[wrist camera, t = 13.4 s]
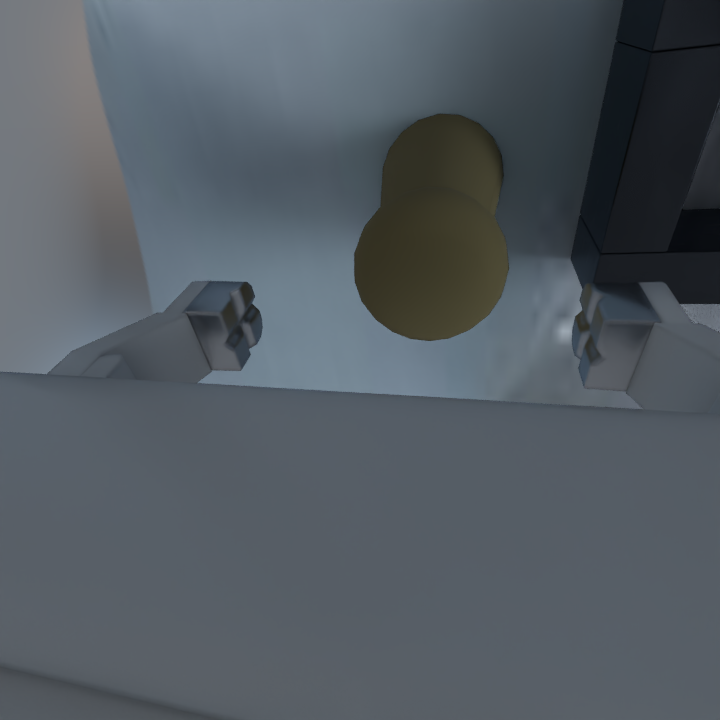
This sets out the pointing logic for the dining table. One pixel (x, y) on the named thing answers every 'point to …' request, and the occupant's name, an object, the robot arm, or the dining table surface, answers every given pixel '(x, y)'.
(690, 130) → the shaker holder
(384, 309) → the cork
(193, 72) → the dining table surface
